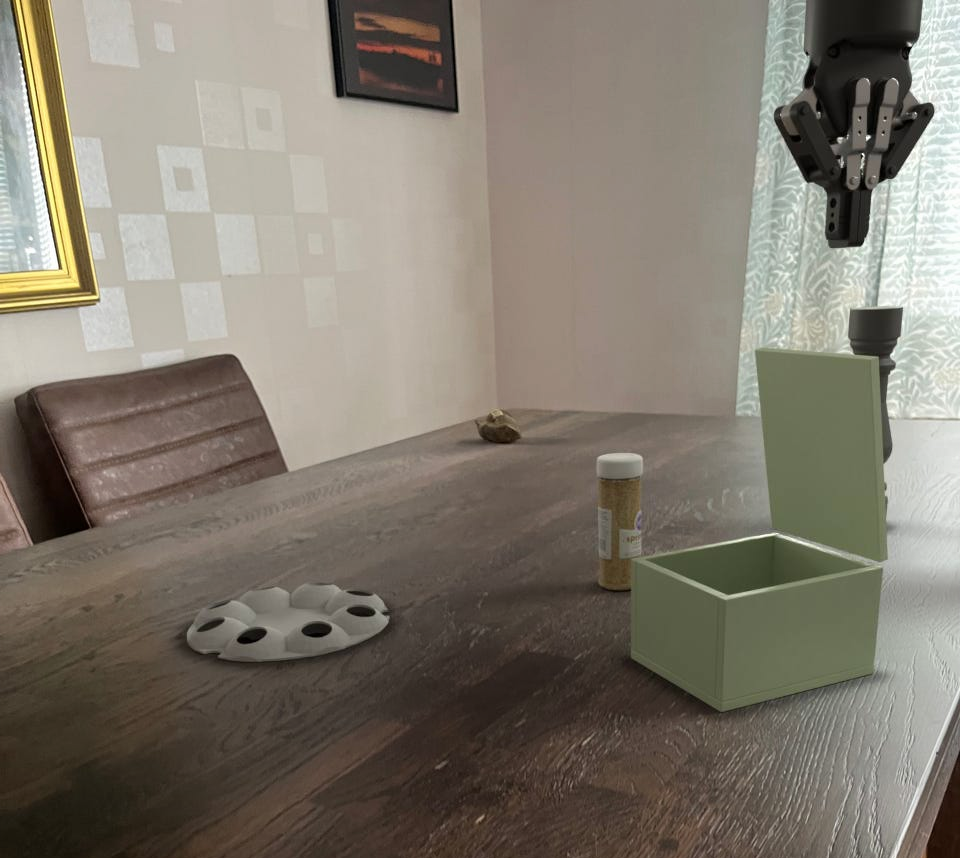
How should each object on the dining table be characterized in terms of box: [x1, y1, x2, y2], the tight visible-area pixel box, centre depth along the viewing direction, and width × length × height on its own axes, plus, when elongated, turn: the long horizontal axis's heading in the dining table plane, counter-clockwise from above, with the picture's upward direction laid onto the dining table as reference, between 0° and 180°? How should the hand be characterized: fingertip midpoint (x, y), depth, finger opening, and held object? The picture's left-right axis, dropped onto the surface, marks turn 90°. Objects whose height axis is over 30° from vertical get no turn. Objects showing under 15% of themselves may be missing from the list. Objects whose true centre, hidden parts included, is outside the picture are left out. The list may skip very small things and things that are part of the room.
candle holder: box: [847, 305, 904, 516], centre depth 117 cm, size 6×6×25 cm
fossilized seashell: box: [474, 408, 523, 443], centre depth 191 cm, size 8×7×10 cm
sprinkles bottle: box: [596, 452, 644, 592], centre depth 101 cm, size 5×5×14 cm
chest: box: [630, 532, 884, 713], centre depth 80 cm, size 15×13×9 cm
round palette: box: [186, 582, 390, 663], centre depth 97 cm, size 20×20×2 cm
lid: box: [754, 347, 889, 563], centre depth 78 cm, size 15×13×1 cm
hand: (845, 247), depth 73 cm, fingers closed
